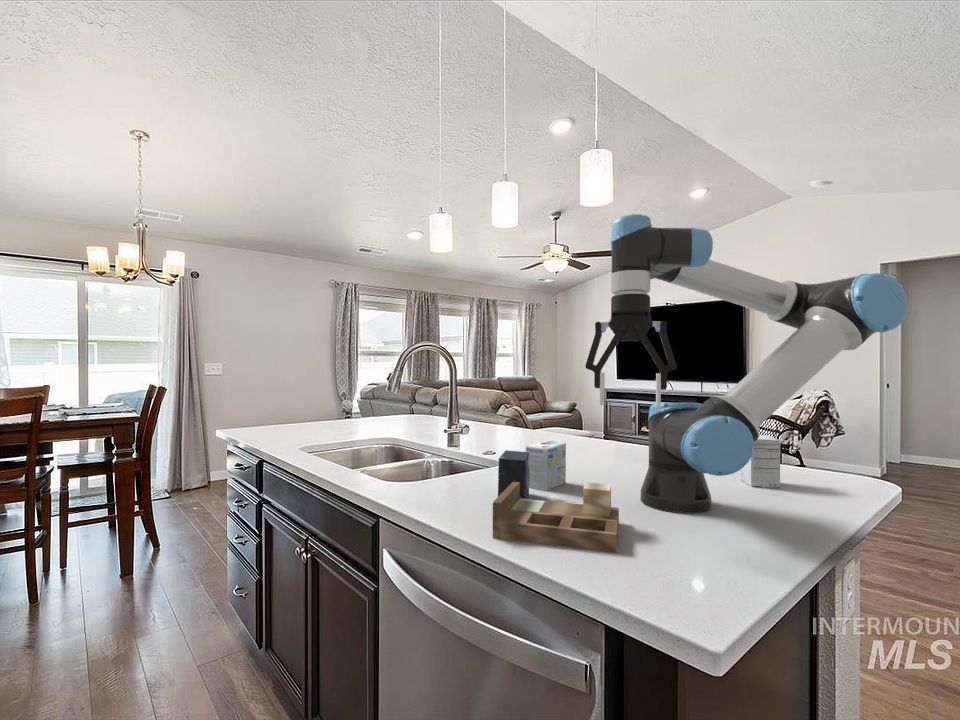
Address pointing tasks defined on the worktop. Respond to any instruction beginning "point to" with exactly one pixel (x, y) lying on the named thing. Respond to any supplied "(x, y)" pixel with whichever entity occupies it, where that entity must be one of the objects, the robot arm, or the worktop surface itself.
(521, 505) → the tray
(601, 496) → the maple block
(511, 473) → the small box
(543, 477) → the light bulb box
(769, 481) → the supplement box
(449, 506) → the worktop surface
